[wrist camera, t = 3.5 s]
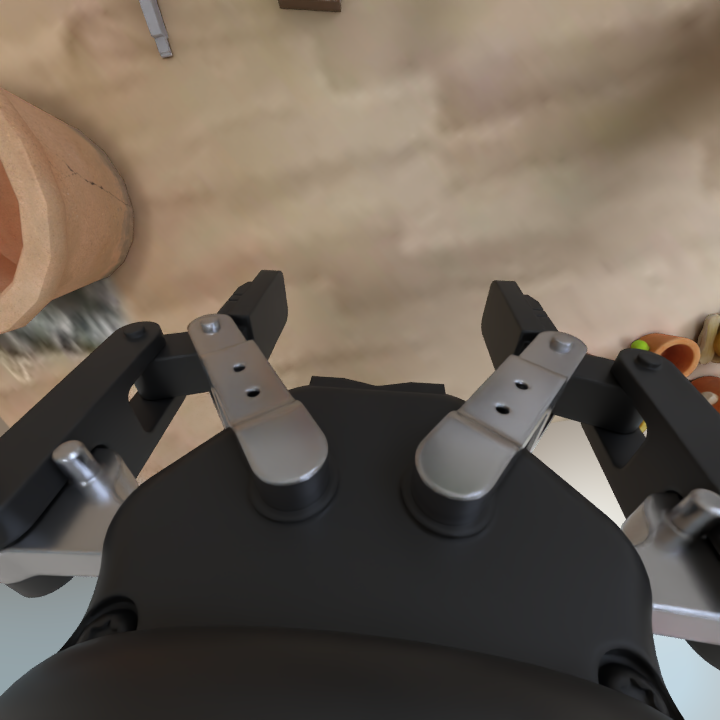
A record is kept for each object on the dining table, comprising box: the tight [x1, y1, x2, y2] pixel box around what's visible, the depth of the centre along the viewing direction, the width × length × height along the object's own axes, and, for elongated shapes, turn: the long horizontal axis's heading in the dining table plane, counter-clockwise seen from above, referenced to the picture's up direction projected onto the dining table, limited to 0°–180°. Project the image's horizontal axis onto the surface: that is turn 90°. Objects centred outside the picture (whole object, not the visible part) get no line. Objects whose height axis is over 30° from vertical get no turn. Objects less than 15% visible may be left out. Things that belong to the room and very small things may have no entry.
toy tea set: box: [586, 314, 720, 433], centre depth 40 cm, size 26×16×10 cm, turn 102°
